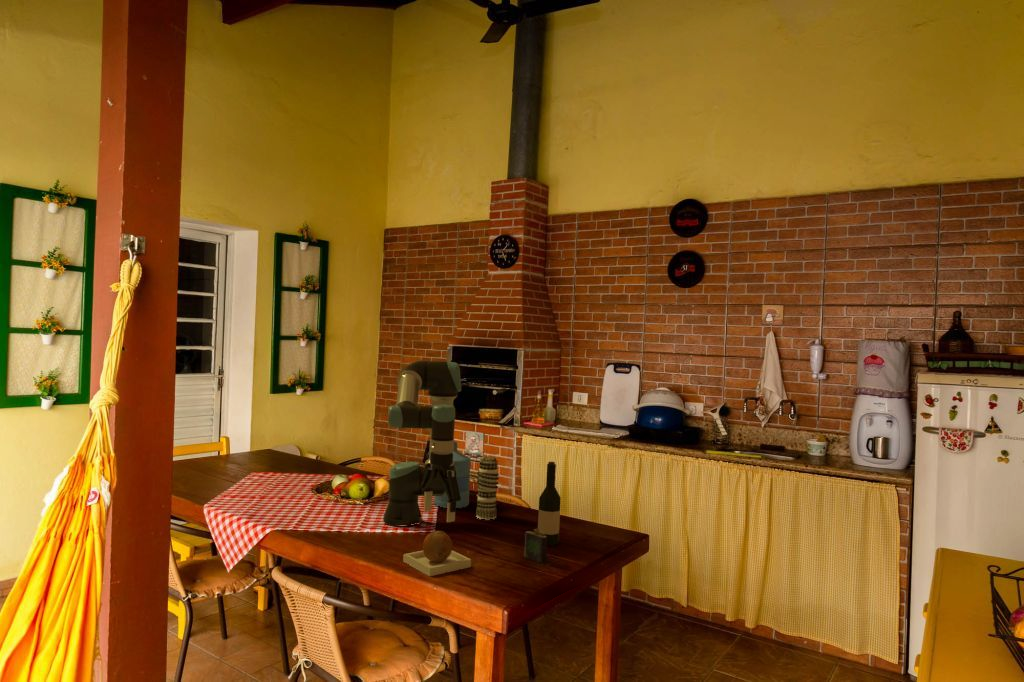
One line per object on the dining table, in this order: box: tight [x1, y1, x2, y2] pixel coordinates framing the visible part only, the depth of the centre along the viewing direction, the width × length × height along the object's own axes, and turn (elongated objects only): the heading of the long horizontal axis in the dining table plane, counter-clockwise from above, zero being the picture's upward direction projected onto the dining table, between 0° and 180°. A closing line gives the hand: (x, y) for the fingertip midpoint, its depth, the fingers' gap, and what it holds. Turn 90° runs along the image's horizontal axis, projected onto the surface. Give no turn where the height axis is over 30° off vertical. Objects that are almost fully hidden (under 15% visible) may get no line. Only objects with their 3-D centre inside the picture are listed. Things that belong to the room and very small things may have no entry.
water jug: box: [433, 440, 472, 509], centre depth 304 cm, size 16×16×28 cm
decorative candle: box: [475, 455, 500, 521], centre depth 286 cm, size 9×9×25 cm
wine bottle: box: [537, 461, 562, 546], centre depth 255 cm, size 8×8×30 cm
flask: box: [523, 528, 547, 564], centre depth 236 cm, size 9×3×11 cm, turn 48°
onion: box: [422, 530, 453, 562], centre depth 226 cm, size 10×10×10 cm
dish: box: [402, 549, 472, 577], centre depth 226 cm, size 16×16×2 cm
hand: (438, 516), depth 227 cm, fingers open, 13 cm apart
